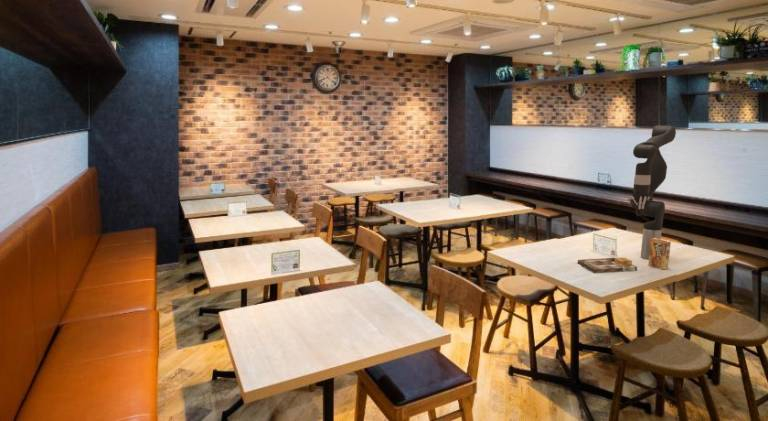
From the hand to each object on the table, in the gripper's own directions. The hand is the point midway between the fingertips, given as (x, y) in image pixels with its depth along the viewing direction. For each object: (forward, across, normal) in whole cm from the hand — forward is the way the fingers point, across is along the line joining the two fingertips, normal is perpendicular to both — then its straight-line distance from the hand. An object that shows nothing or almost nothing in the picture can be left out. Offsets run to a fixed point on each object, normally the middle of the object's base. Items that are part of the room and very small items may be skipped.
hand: (638, 215), depth 254 cm
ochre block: (+27, +6, -1) cm, 28 cm away
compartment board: (+29, +13, -5) cm, 32 cm away
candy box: (+29, -14, 0) cm, 32 cm away
